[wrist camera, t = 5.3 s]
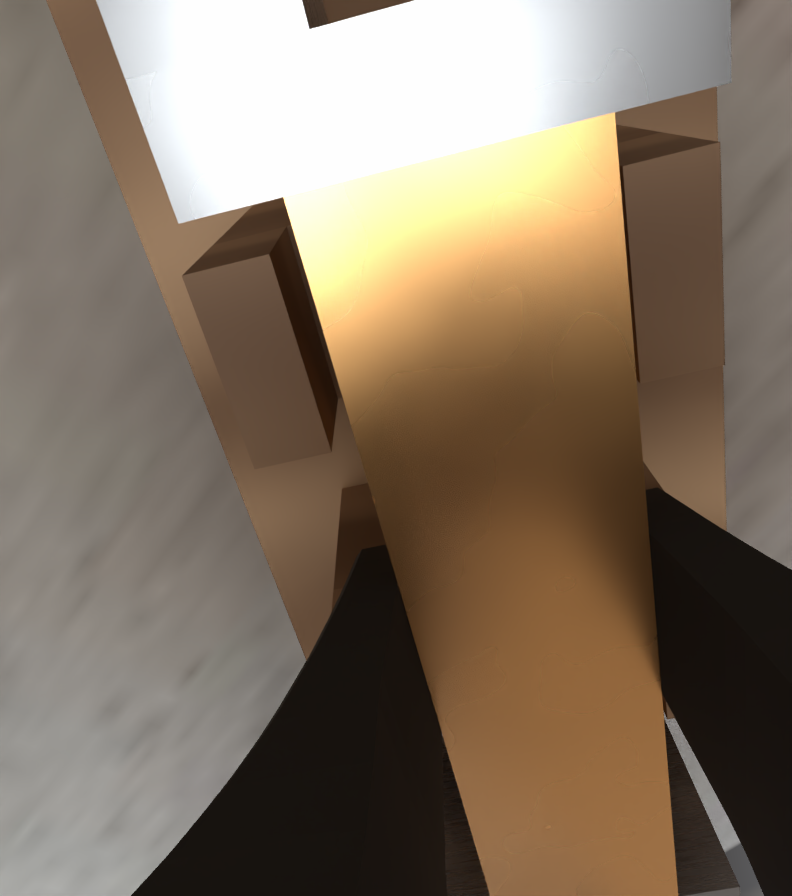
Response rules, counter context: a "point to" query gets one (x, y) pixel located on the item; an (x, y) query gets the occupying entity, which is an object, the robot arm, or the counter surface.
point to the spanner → (476, 373)
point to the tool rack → (306, 352)
